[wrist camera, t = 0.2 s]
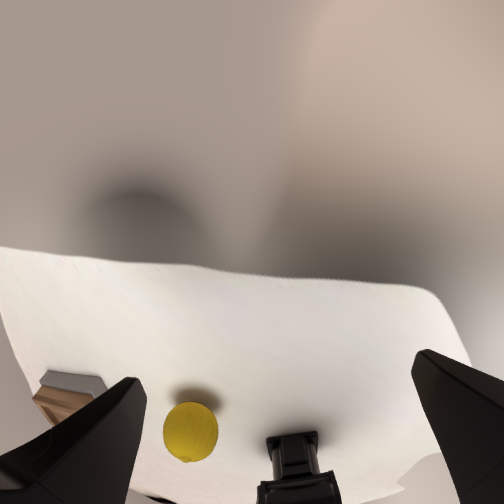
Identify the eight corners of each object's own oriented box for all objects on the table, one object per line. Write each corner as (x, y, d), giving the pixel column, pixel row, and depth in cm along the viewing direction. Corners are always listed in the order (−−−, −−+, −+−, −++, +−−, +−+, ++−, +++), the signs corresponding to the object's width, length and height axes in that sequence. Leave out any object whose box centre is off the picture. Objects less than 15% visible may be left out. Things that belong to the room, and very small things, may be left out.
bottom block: (134, 426, 29) (128, 442, 26) (81, 417, 29) (74, 430, 26) (101, 374, 26) (91, 390, 23) (49, 368, 26) (39, 381, 23)
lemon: (210, 423, 27) (202, 478, 19) (166, 407, 26) (150, 460, 19) (229, 399, 26) (224, 459, 18) (180, 380, 25) (163, 440, 17)
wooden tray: (124, 440, 26) (118, 457, 23) (74, 429, 26) (67, 443, 23) (91, 394, 23) (81, 411, 20) (42, 384, 23) (32, 398, 21)
